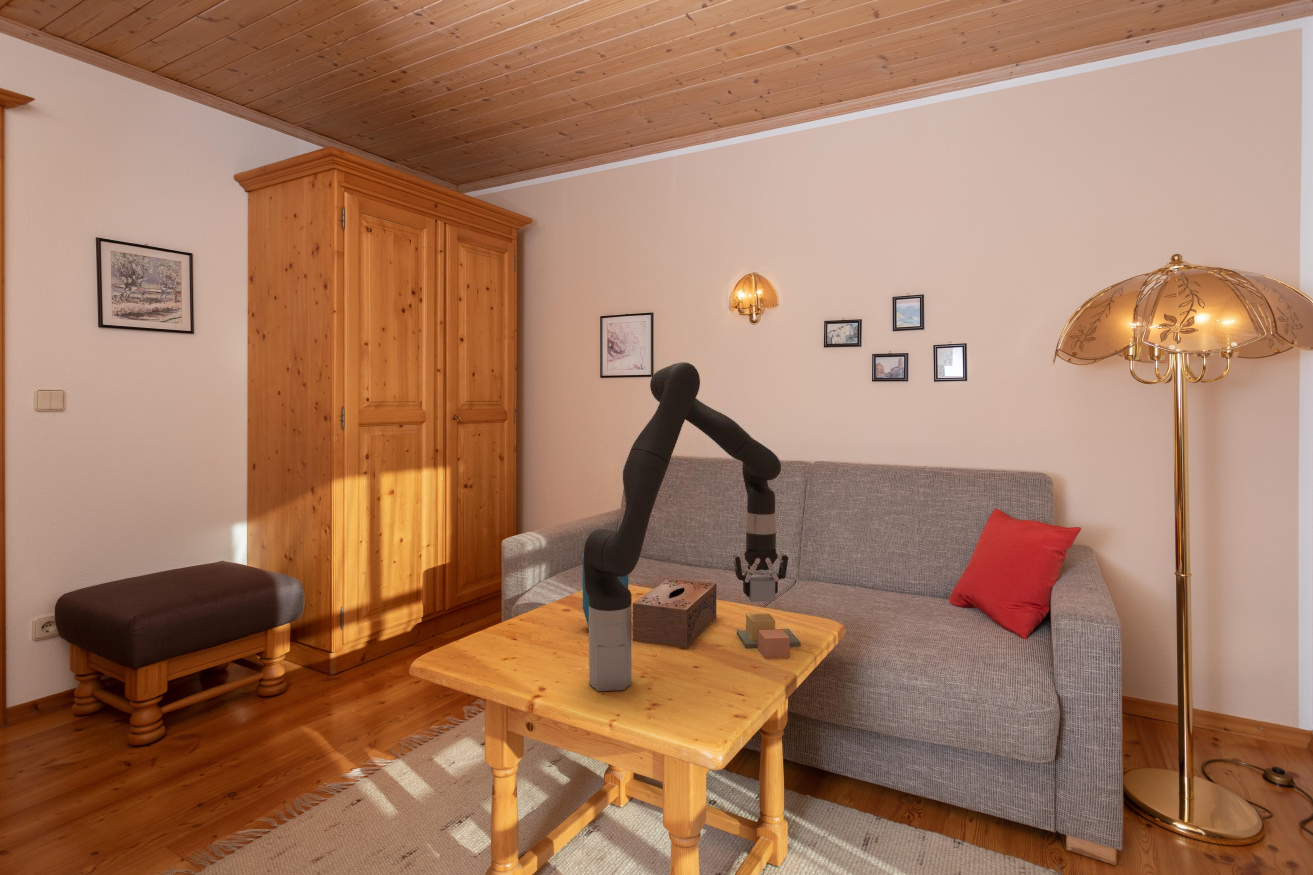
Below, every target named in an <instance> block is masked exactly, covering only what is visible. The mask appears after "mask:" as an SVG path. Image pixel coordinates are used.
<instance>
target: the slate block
mask: <svg viewBox="0 0 1313 875" xmlns="http://www.w3.org/2000/svg"><path fill="white" fill-rule="evenodd" d="M749 582H750V597H747V598H748V600H750V602H751V603H757V602H758V603H760V602H761V603H762V602H765V603H766V602H776V594H775V581H774V580H773V579H772V577H771V575H770V574H769V575H768V574H767V575H765V574H764V575H752V577H751V579H750V581H749Z"/></svg>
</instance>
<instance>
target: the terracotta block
mask: <svg viewBox="0 0 1313 875" xmlns="http://www.w3.org/2000/svg"><path fill="white" fill-rule="evenodd" d="M782 629H783V628H775V629H774V630H758V648H757V650H758V652H759V653H760V654H761V655H762V657H763V659H765V660H768V659H769V660H771V659H789V658H790V647H789V645H790V638H789V636H788V635H787V634H786V633H785V632H784V631H783V630H782Z"/></svg>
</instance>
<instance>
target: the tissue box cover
mask: <svg viewBox="0 0 1313 875" xmlns="http://www.w3.org/2000/svg"><path fill="white" fill-rule="evenodd" d="M717 591H718V590H717V583H715V582H708V581H707V582H706V581H699V580H697V581H696V580H689V579H688V580H687V579H681V578H680V579H678V578H667V579H666V580H664V581H663V582H661V583H659V584H658V585H657V586H655V587H654V588H653V589H651V590H650V591H649V592H647V593H645V594H644V595H643V596H640V597H639V598H638V599H637V600H636V601H633V602H632V641H633V642H637V643H645V644H652V645H658V646H664V647H665V646H666V647H673V648H679V649H686V650H687V648H688V647H690V646H691V644H693V642H694V641H695V640H696V639H697V638H698V637H699V636H700V635H701V634H702V633H703V632H704V631H705V630H706V629H707V628H708V627H709V626H710V624H712V623H713V622H714V621H715V619H716V618H717V594H718V593H717Z"/></svg>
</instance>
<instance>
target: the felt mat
mask: <svg viewBox="0 0 1313 875" xmlns="http://www.w3.org/2000/svg"><path fill="white" fill-rule="evenodd" d="M781 629H782V630H783V631H784V632H785V633H786V634H787V635H788V636H789V638H790V645H789V648H790V647H801V646H802V645H801V643H802V642H801V641H800V640H799V638H798V637H797V636H796V635H795V634H794V632H792V631H791V629H790V628H781ZM736 635H737V638H739V640H740V642H741V643H742V645H743V646H744V648H745V649H758V641H751V639H750V638H749V637H748V635H747V634H746V629H742V630H741V629H740V630H739V629H738V630H736Z"/></svg>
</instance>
